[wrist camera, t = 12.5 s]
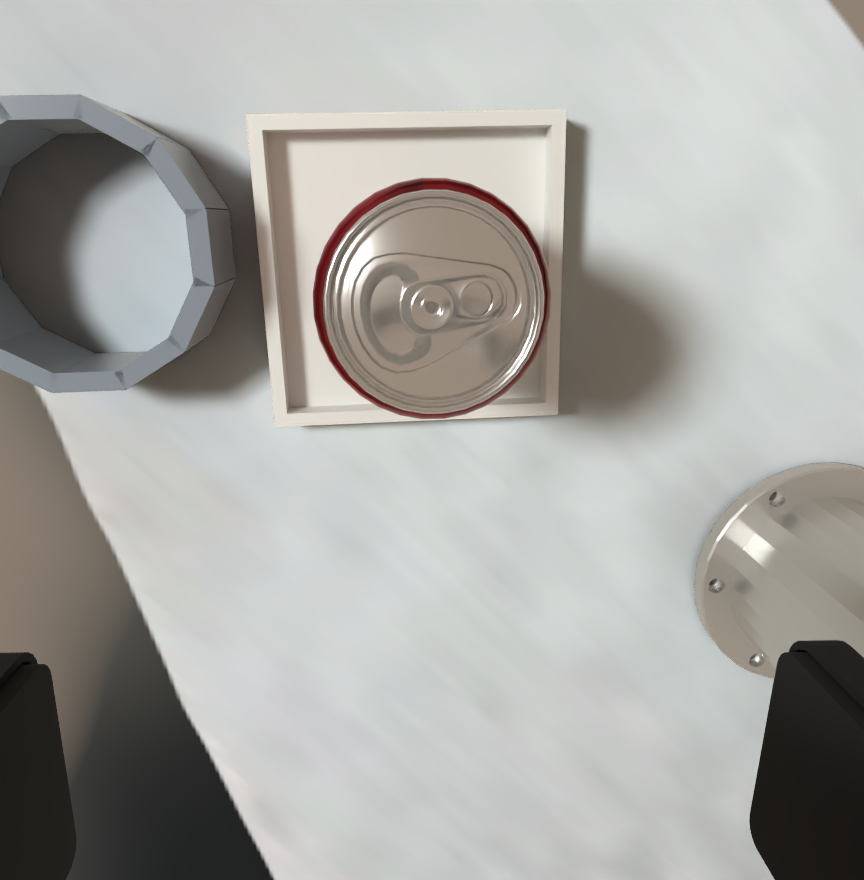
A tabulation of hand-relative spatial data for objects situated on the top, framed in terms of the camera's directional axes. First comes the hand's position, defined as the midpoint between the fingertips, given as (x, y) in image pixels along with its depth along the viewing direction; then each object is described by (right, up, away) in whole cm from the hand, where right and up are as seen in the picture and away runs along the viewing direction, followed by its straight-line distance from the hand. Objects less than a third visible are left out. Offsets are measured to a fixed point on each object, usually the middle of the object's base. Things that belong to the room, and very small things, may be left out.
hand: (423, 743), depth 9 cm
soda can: (-1, +11, +24) cm, 26 cm away
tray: (-1, +12, +24) cm, 27 cm away
